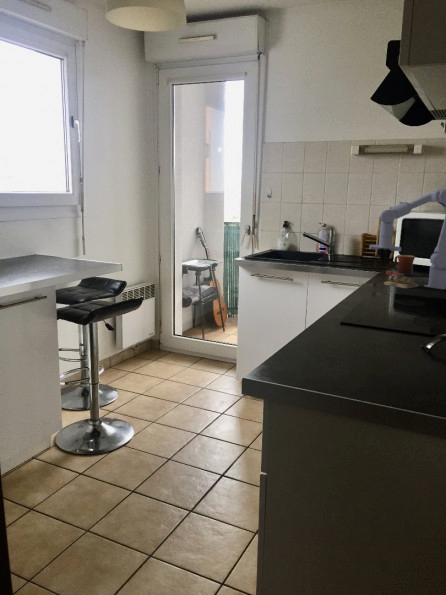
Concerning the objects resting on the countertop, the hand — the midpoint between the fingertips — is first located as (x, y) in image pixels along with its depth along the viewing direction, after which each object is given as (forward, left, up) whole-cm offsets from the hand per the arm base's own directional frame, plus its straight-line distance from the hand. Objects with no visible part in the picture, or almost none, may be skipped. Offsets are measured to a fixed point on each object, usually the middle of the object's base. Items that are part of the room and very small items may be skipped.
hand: (383, 265), depth 232 cm
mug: (+12, -35, -9) cm, 38 cm away
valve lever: (-3, -6, -4) cm, 8 cm away
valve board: (-6, -5, -9) cm, 12 cm away
